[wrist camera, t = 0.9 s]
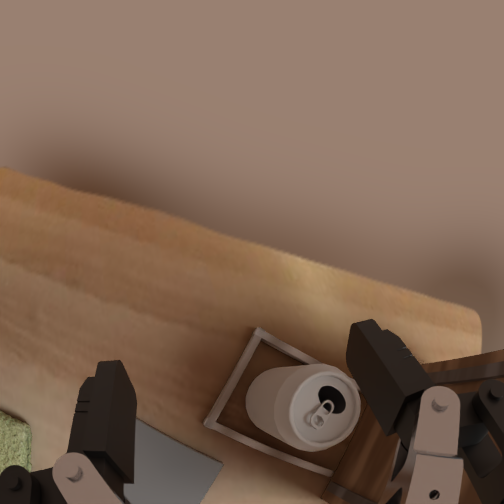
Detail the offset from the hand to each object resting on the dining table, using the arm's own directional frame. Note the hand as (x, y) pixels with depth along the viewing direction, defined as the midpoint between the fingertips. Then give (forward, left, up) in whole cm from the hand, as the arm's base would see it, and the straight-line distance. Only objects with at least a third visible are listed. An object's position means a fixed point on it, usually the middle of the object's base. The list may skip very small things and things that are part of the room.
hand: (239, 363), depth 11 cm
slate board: (+1, -13, -23) cm, 27 cm away
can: (+10, +1, -24) cm, 26 cm away
